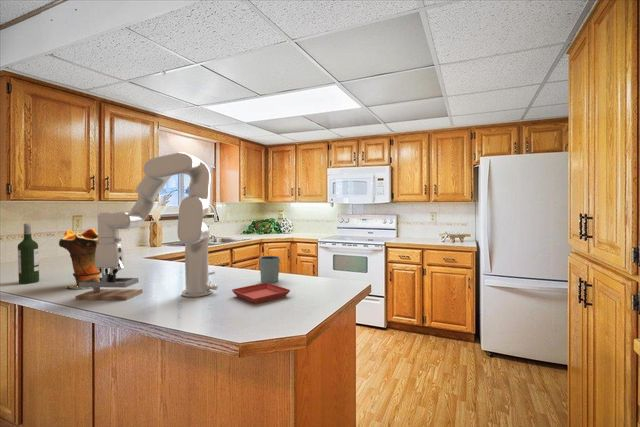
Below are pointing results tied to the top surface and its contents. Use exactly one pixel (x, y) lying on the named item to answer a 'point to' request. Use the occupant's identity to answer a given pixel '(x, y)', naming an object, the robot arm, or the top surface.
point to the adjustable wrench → (212, 272)
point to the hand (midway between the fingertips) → (109, 283)
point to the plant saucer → (260, 292)
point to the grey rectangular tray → (105, 282)
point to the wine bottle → (28, 258)
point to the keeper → (108, 293)
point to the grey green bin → (269, 268)
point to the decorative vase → (81, 255)
